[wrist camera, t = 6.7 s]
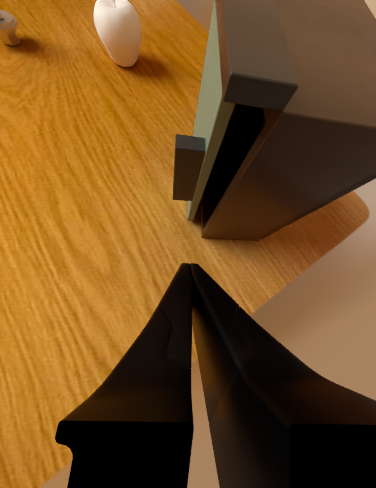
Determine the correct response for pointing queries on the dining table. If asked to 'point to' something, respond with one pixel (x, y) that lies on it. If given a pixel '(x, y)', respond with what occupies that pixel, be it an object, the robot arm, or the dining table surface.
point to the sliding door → (202, 130)
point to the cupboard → (291, 112)
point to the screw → (8, 29)
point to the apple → (119, 30)
